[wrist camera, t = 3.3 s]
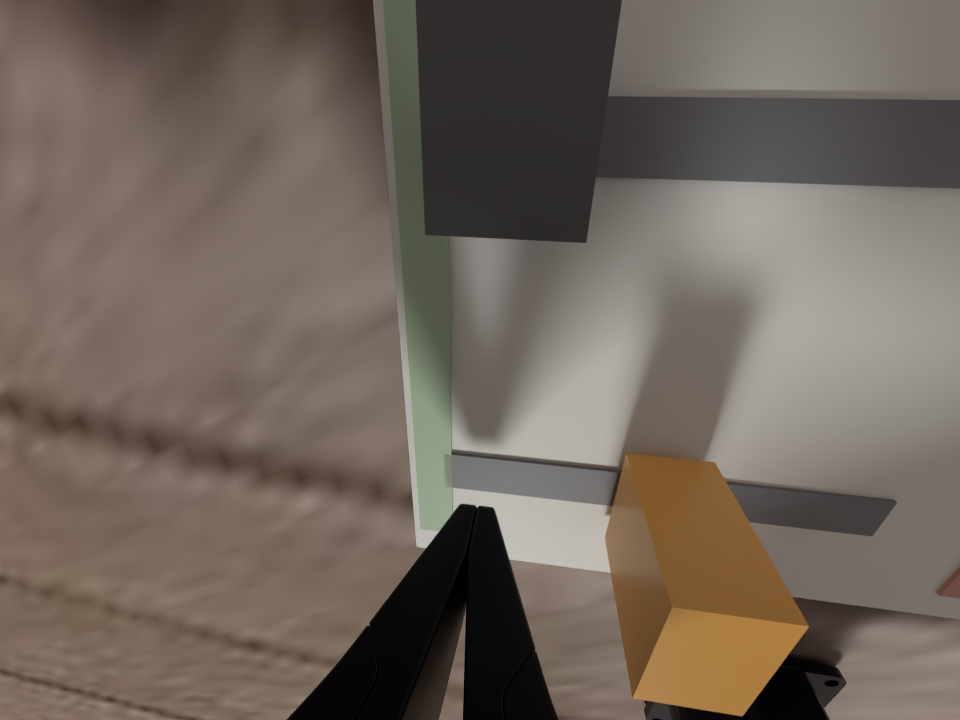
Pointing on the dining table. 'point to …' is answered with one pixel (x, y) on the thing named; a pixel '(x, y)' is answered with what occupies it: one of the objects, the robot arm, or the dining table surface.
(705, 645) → the block
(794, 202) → the breaker panel
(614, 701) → the dining table surface
